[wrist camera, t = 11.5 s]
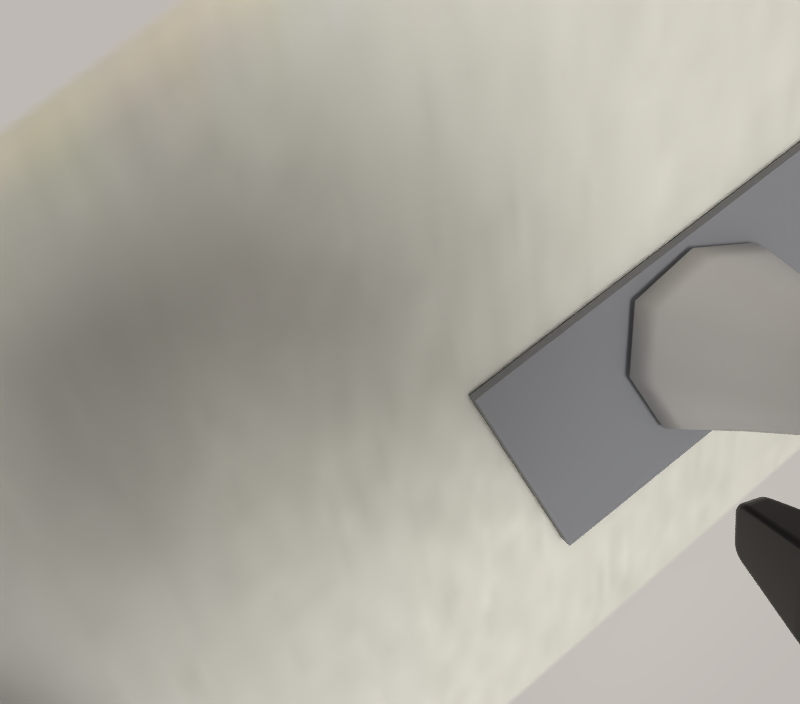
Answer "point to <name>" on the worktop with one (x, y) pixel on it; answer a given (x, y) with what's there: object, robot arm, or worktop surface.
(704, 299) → the flask
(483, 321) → the worktop surface
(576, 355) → the charcoal mat
